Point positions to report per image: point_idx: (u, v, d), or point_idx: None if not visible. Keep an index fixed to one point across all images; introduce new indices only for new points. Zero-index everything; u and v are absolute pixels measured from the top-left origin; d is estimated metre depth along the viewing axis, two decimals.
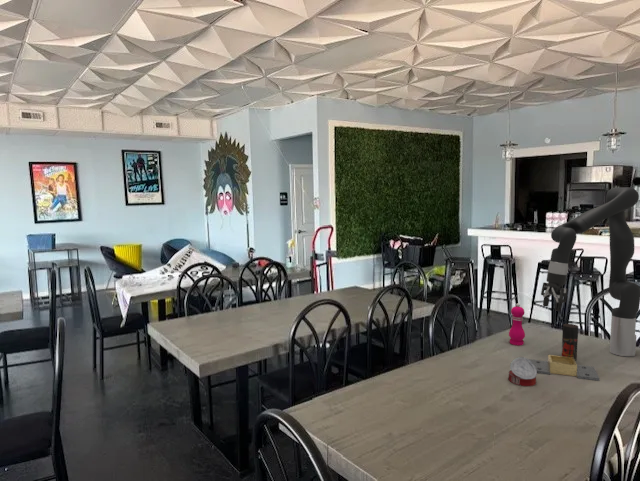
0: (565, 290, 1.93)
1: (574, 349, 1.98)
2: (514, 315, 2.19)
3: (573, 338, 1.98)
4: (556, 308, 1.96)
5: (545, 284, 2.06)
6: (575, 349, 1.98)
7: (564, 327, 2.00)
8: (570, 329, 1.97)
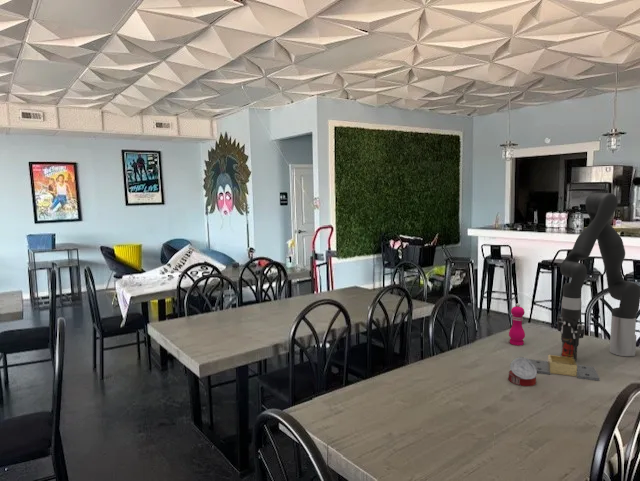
0: (583, 327, 1.93)
1: (574, 349, 1.98)
2: (514, 315, 2.19)
3: None
4: (574, 344, 1.97)
5: (559, 319, 2.05)
6: (575, 349, 1.98)
7: (564, 327, 2.00)
8: (570, 329, 1.97)
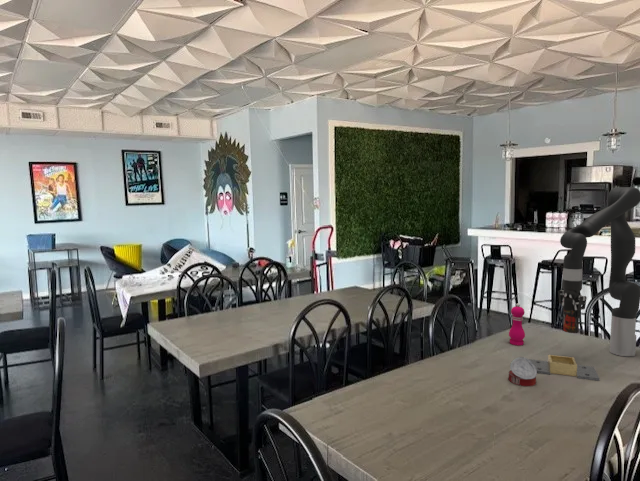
0: (584, 298, 1.92)
1: (576, 321, 1.97)
2: (514, 315, 2.19)
3: (574, 310, 1.96)
4: (575, 316, 1.96)
5: (560, 292, 2.04)
6: (577, 321, 1.97)
7: (565, 299, 1.98)
8: (572, 300, 1.96)
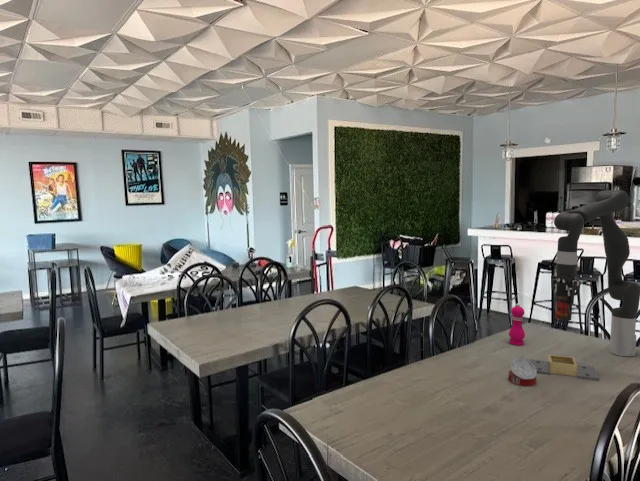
0: (578, 283, 1.79)
1: (569, 308, 1.84)
2: (514, 315, 2.19)
3: (567, 296, 1.83)
4: (568, 302, 1.82)
5: (554, 277, 1.91)
6: (570, 308, 1.84)
7: (558, 284, 1.85)
8: (565, 285, 1.83)
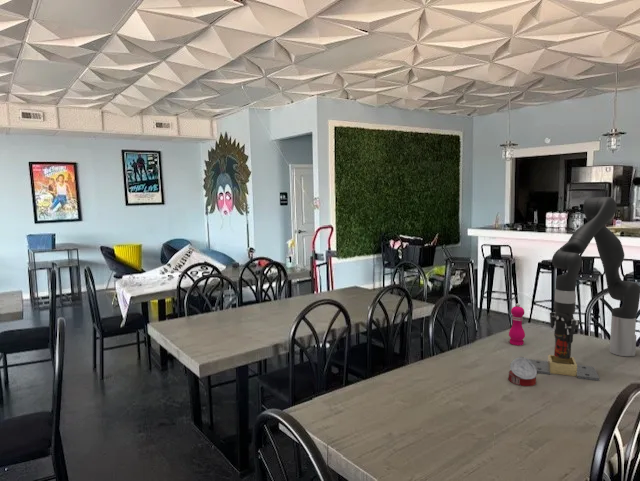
0: (577, 322, 1.80)
1: (568, 346, 1.84)
2: (514, 315, 2.19)
3: None
4: (568, 341, 1.83)
5: (552, 314, 1.91)
6: (569, 346, 1.85)
7: (557, 322, 1.86)
8: (564, 324, 1.84)
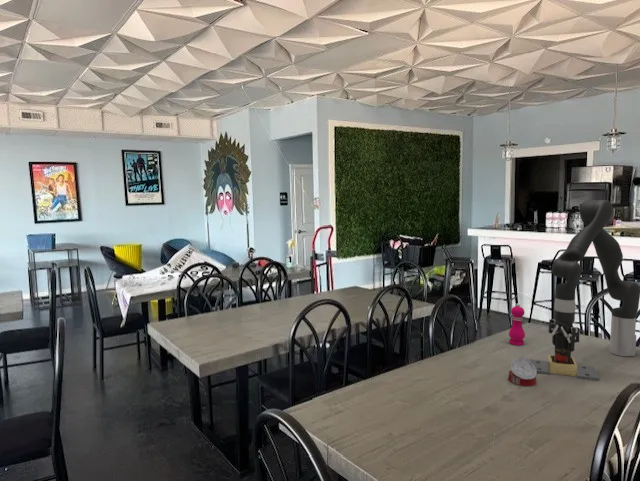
0: (577, 329, 1.80)
1: (568, 361, 1.85)
2: (514, 315, 2.19)
3: (566, 348, 1.84)
4: (569, 349, 1.83)
5: (552, 321, 1.92)
6: (568, 360, 1.85)
7: (556, 337, 1.87)
8: (563, 339, 1.84)
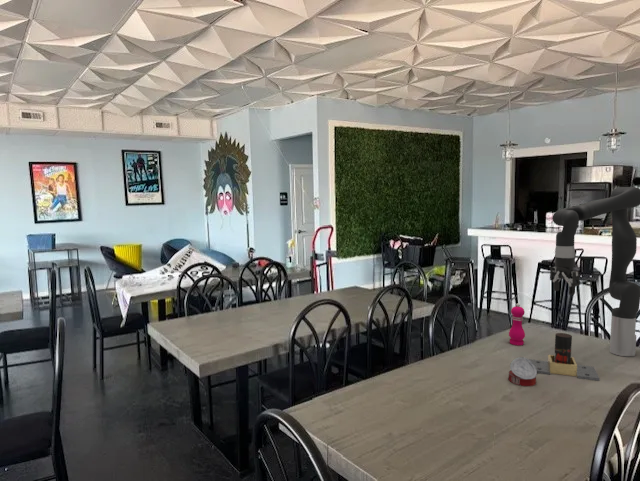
0: (577, 273, 1.91)
1: (568, 361, 1.85)
2: (514, 315, 2.19)
3: (566, 349, 1.84)
4: (570, 292, 1.94)
5: (553, 269, 2.03)
6: (568, 360, 1.85)
7: (557, 337, 1.86)
8: (563, 339, 1.84)
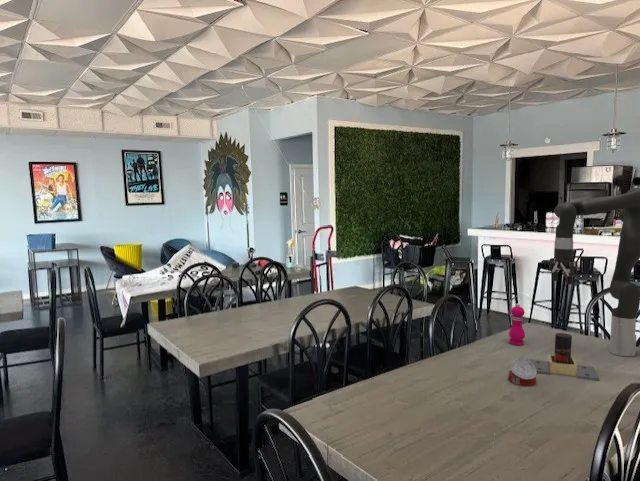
0: (574, 264, 2.01)
1: (568, 361, 1.85)
2: (514, 315, 2.19)
3: (566, 349, 1.84)
4: (568, 282, 2.04)
5: (552, 260, 2.13)
6: (568, 360, 1.85)
7: (557, 337, 1.86)
8: (563, 339, 1.84)
